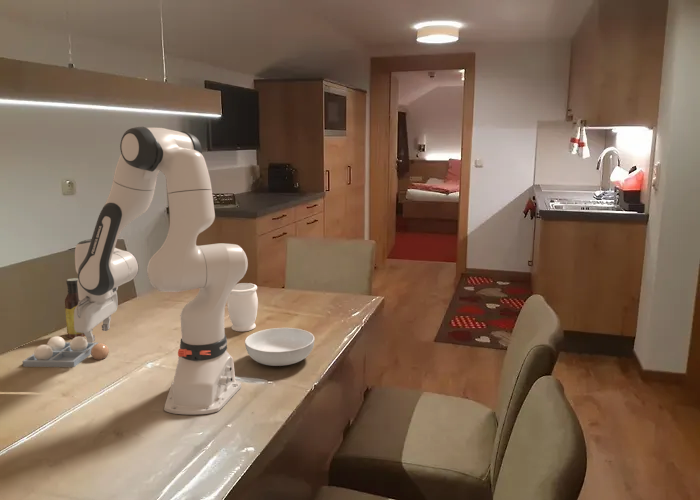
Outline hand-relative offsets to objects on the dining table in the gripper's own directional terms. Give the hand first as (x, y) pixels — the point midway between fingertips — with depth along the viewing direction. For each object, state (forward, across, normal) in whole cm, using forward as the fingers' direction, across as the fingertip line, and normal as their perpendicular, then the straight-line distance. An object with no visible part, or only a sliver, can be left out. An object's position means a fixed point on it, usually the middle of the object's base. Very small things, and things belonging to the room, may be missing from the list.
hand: (98, 335), depth 172 cm
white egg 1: (+7, -4, +15) cm, 17 cm away
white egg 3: (+7, +3, +8) cm, 11 cm away
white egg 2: (+7, +3, +15) cm, 17 cm away
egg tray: (+7, -1, +12) cm, 14 cm away
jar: (+7, +29, -38) cm, 48 cm away
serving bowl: (+7, +1, -55) cm, 56 cm away
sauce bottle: (+8, +18, +16) cm, 26 cm away
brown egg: (+7, -1, 0) cm, 7 cm away
